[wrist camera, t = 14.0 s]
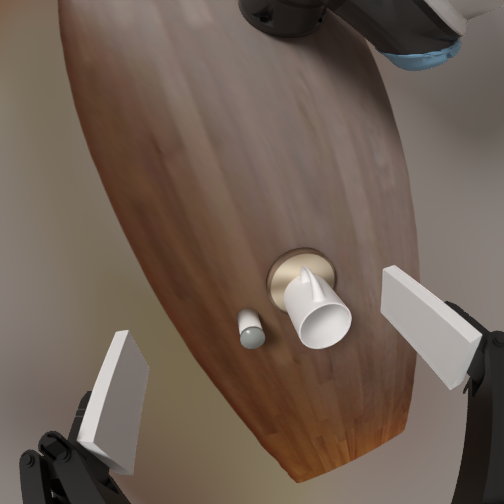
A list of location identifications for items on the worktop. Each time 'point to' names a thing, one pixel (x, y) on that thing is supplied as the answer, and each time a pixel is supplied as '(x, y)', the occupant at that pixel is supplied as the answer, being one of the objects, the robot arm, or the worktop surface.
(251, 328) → the spice jar
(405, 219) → the worktop surface
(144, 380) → the robot arm
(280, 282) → the beige flat disc
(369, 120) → the worktop surface
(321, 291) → the mug
